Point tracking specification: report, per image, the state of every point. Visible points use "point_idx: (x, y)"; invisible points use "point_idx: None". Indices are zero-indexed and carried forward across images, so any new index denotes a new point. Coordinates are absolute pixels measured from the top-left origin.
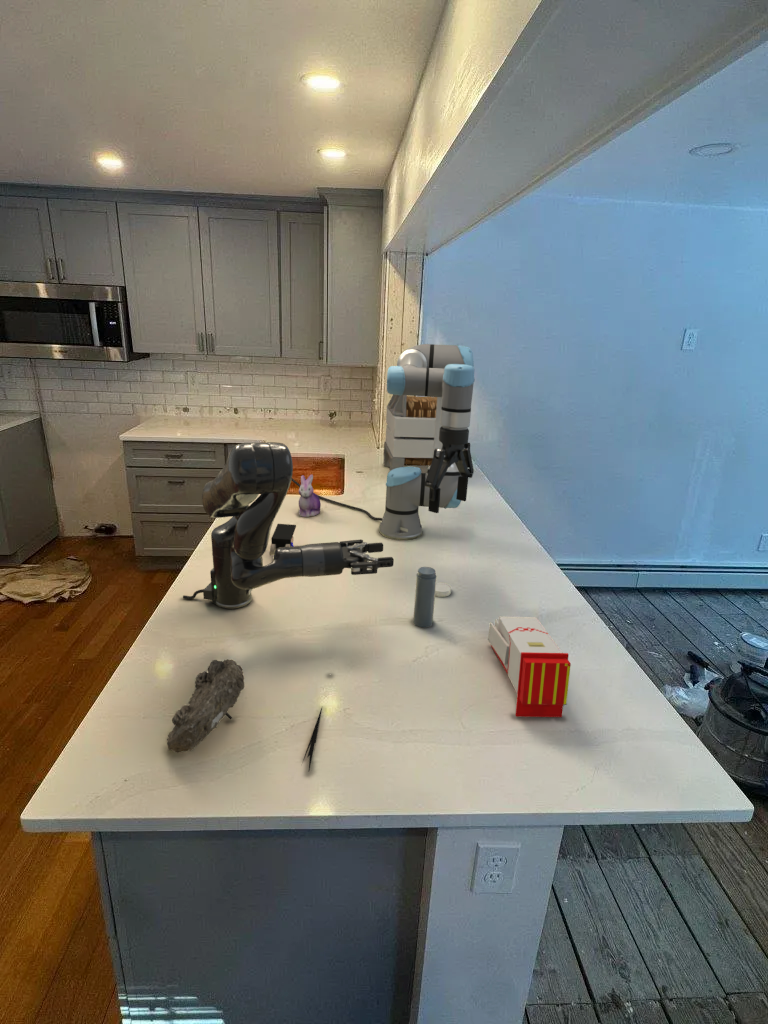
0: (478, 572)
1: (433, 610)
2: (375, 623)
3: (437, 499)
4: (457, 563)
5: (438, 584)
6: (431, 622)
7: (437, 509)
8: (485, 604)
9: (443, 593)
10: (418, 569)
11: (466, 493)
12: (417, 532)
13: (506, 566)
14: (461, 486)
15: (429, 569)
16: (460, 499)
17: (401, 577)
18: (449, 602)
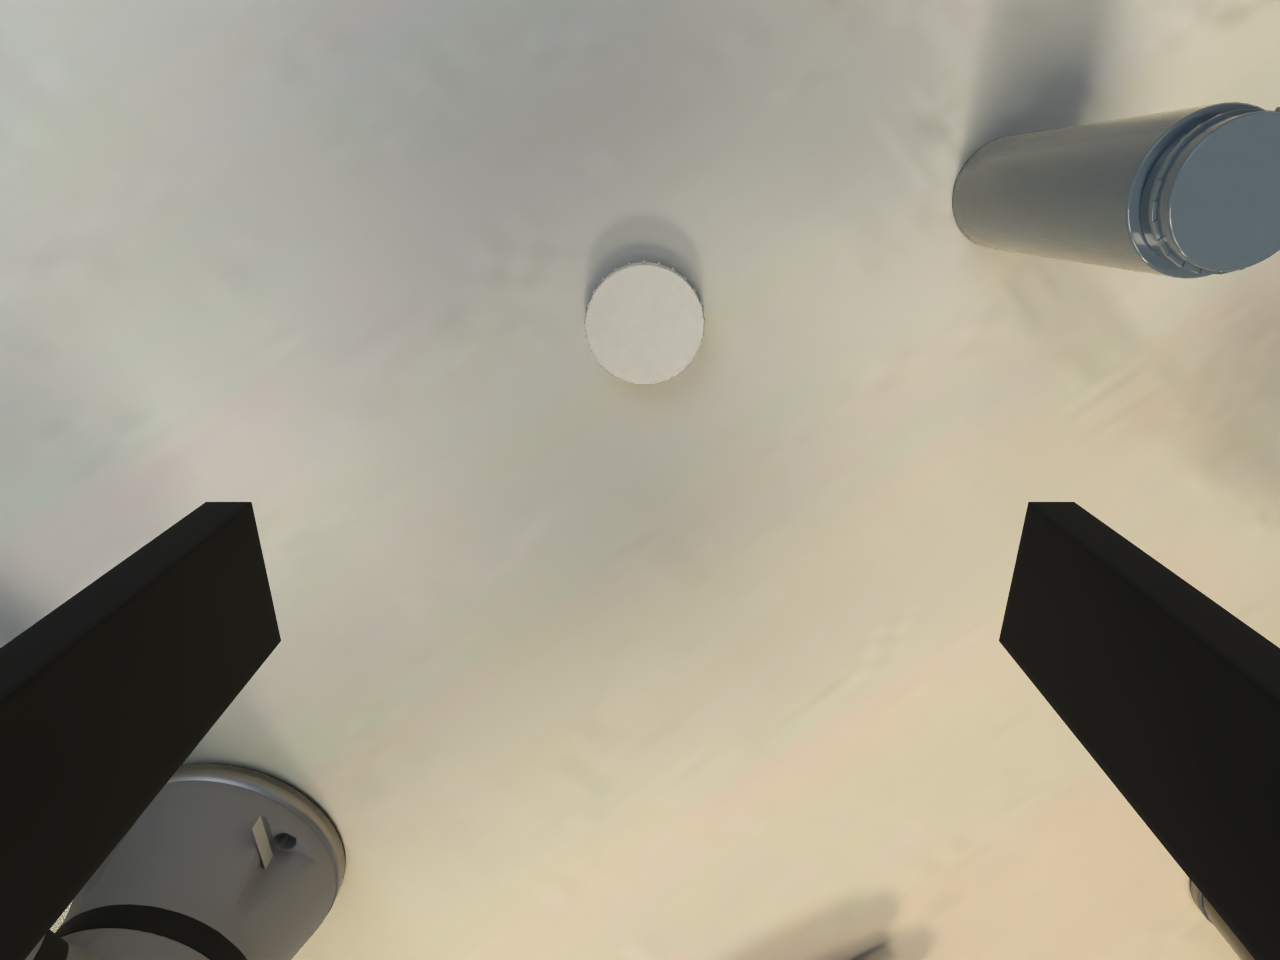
0: (263, 291)
1: (1041, 132)
2: (1140, 372)
3: (1241, 640)
4: (273, 448)
5: (628, 353)
6: (1020, 134)
7: (1109, 528)
8: (586, 18)
9: (684, 278)
10: (1263, 259)
11: (131, 564)
12: (194, 788)
13: (33, 198)
14: (112, 739)
15: (1216, 187)
16: (261, 581)
17: (649, 561)
18: (714, 210)
